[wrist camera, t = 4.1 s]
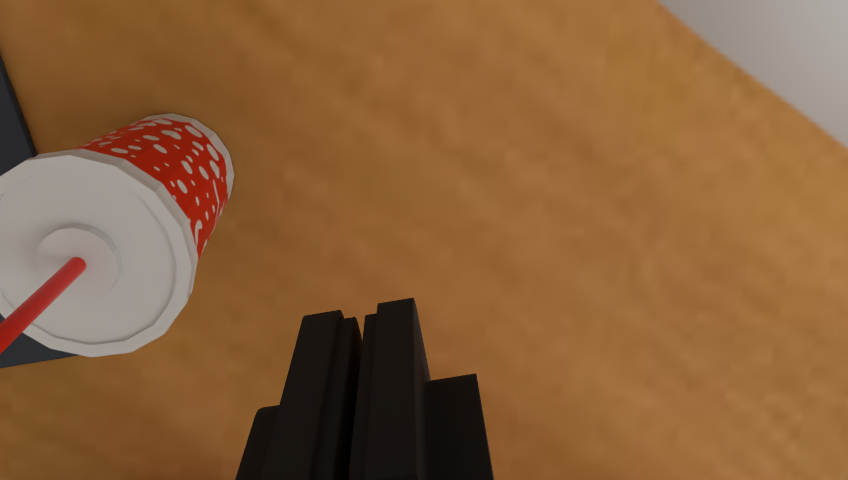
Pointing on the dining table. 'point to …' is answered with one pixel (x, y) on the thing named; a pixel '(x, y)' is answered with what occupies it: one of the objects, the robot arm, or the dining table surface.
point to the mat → (3, 150)
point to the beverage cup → (109, 235)
